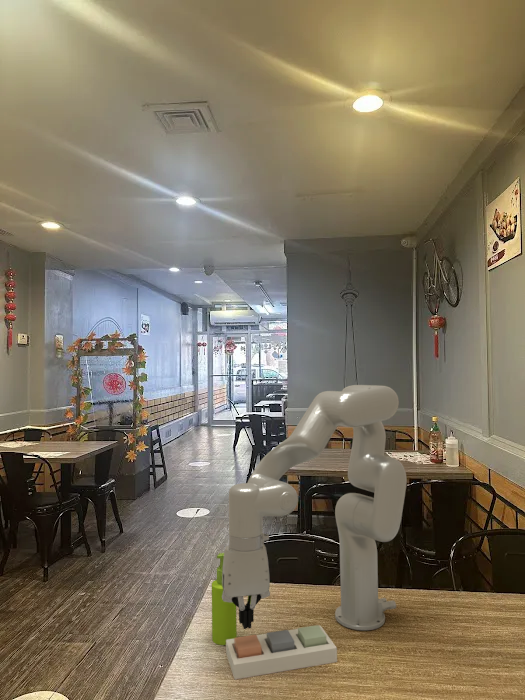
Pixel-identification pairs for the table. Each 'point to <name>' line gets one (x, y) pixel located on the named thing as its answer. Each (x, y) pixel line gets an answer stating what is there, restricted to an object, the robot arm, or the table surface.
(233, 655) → the button panel
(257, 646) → the terracotta button
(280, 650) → the slate button
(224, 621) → the soap dispenser
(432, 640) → the table surface
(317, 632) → the sage button
